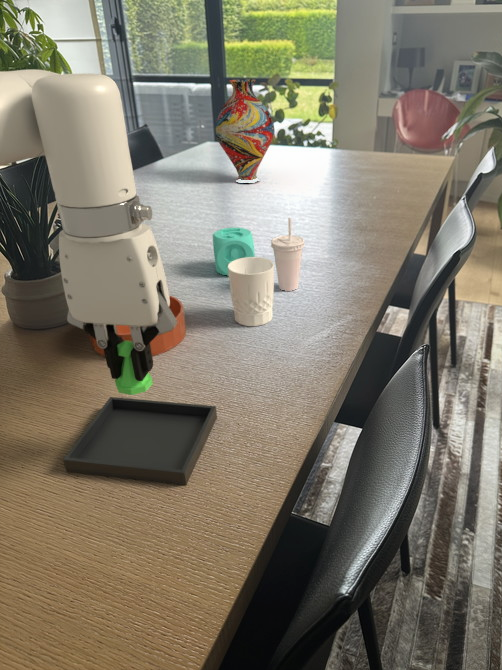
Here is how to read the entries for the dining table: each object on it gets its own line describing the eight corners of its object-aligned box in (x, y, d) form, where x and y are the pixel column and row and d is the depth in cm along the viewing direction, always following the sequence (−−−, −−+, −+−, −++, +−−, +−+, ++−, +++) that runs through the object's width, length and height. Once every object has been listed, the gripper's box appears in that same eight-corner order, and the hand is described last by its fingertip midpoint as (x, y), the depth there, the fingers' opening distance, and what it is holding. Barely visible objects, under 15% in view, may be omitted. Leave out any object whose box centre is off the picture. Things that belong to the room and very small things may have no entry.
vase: (207, 183, 182) (198, 82, 166) (242, 172, 195) (237, 76, 179) (253, 191, 173) (247, 84, 157) (286, 178, 186) (285, 78, 170)
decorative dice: (251, 261, 122) (249, 225, 118) (255, 275, 115) (253, 237, 111) (215, 264, 121) (211, 228, 117) (217, 278, 114) (214, 241, 110)
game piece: (150, 394, 63) (143, 349, 60) (112, 396, 63) (103, 351, 60) (154, 373, 67) (148, 330, 64) (119, 375, 67) (110, 332, 63)
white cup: (268, 305, 103) (266, 254, 97) (281, 324, 96) (280, 270, 91) (227, 312, 101) (222, 260, 95) (237, 331, 94) (234, 276, 89)
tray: (66, 471, 65) (62, 459, 64) (112, 407, 76) (110, 396, 75) (186, 485, 63) (184, 473, 62) (217, 417, 74) (215, 406, 73)
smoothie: (293, 297, 106) (292, 225, 98) (266, 290, 109) (263, 219, 101) (310, 285, 110) (311, 215, 103) (283, 279, 113) (282, 211, 106)
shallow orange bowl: (74, 355, 89) (68, 331, 86) (115, 312, 102) (111, 290, 99) (167, 362, 86) (163, 337, 84) (197, 317, 99) (195, 294, 97)
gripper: (190, 208, 56) (207, 362, 66) (46, 203, 59) (83, 352, 68) (164, 231, 50) (187, 397, 60) (5, 225, 52) (52, 386, 62)
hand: (132, 372), depth 64 cm, fingers closed on game piece, 2 cm apart
